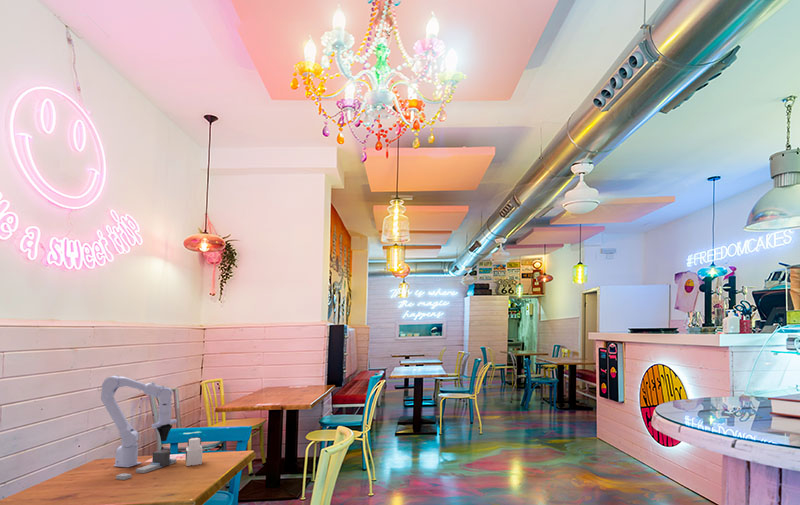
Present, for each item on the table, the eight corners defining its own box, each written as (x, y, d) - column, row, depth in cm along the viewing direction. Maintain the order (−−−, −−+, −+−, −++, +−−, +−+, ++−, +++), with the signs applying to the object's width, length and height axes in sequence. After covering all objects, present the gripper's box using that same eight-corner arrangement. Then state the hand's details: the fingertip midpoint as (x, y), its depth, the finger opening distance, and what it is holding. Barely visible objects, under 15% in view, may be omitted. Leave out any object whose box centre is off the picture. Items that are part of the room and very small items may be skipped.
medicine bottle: (185, 463, 242) (186, 437, 244) (201, 461, 245) (201, 435, 247) (185, 466, 236) (186, 440, 238) (202, 464, 239) (202, 438, 241)
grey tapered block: (152, 465, 238) (152, 452, 239) (158, 463, 241) (158, 450, 242) (163, 466, 235) (164, 453, 236) (169, 464, 239) (170, 451, 240)
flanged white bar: (115, 479, 217) (116, 474, 218) (168, 461, 245) (168, 457, 246) (124, 479, 216) (124, 474, 216) (176, 462, 244) (176, 457, 244)
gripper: (160, 415, 241) (158, 444, 239) (182, 410, 254) (180, 438, 252) (148, 414, 243) (147, 443, 241) (171, 410, 257) (169, 437, 255)
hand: (163, 440), depth 247 cm, fingers closed
